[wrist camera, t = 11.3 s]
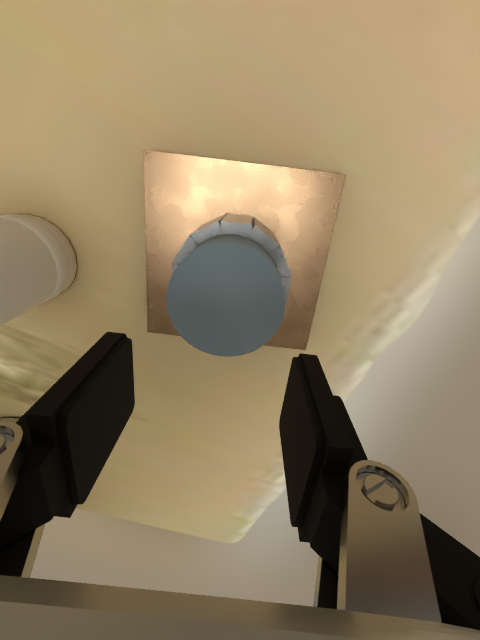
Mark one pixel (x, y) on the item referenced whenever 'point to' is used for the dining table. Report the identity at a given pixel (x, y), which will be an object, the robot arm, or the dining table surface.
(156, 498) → the dining table surface
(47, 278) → the bottle
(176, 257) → the copper square plate
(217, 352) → the cap
